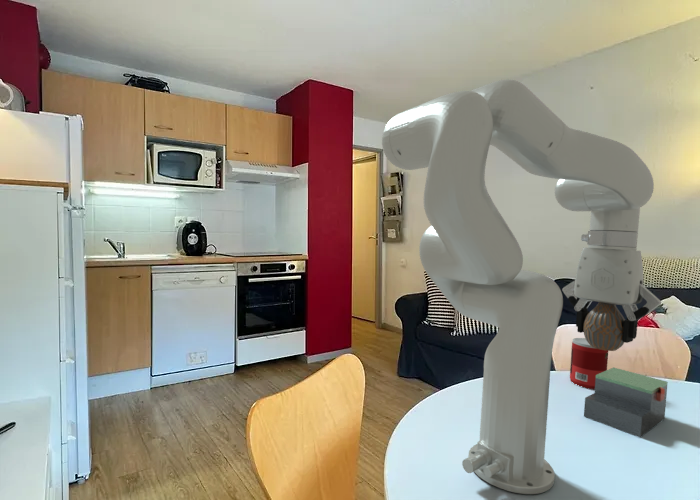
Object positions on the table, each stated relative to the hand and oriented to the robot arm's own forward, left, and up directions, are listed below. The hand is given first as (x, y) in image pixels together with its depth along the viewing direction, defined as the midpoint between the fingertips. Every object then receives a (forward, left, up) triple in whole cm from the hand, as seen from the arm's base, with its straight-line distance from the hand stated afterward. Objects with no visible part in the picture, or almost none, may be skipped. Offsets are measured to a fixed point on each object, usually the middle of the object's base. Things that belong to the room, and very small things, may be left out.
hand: (604, 335), depth 74 cm
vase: (0, 0, -3) cm, 3 cm away
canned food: (+27, +13, -19) cm, 36 cm away
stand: (+13, 0, -19) cm, 23 cm away
